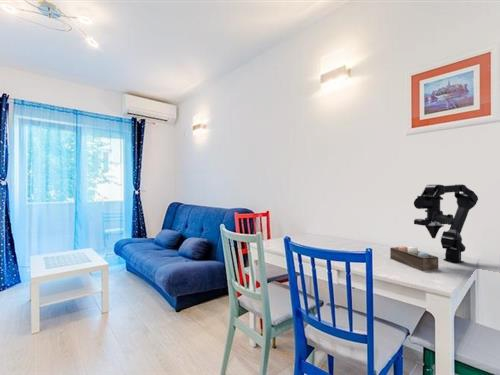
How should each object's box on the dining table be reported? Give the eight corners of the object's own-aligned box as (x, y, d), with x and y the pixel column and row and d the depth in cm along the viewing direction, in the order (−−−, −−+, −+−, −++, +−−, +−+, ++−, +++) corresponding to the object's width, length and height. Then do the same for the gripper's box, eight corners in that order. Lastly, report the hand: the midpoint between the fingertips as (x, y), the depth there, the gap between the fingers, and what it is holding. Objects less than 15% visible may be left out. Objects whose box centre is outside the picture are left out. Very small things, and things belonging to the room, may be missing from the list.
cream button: (413, 255, 139) (413, 246, 139) (419, 257, 135) (419, 248, 135) (405, 255, 139) (405, 246, 139) (412, 258, 134) (411, 248, 134)
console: (404, 257, 148) (404, 247, 148) (438, 269, 127) (438, 257, 127) (390, 258, 147) (390, 247, 147) (421, 270, 125) (421, 258, 125)
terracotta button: (403, 254, 146) (403, 246, 146) (409, 256, 142) (409, 247, 142) (396, 255, 146) (396, 246, 146) (402, 257, 141) (402, 248, 141)
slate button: (423, 261, 132) (423, 252, 132) (431, 264, 128) (431, 254, 128) (415, 262, 132) (415, 252, 132) (423, 264, 127) (422, 254, 127)
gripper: (430, 210, 128) (430, 242, 128) (463, 209, 131) (463, 240, 131) (413, 208, 139) (413, 237, 139) (444, 207, 142) (444, 236, 142)
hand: (433, 238), depth 138 cm, fingers closed
